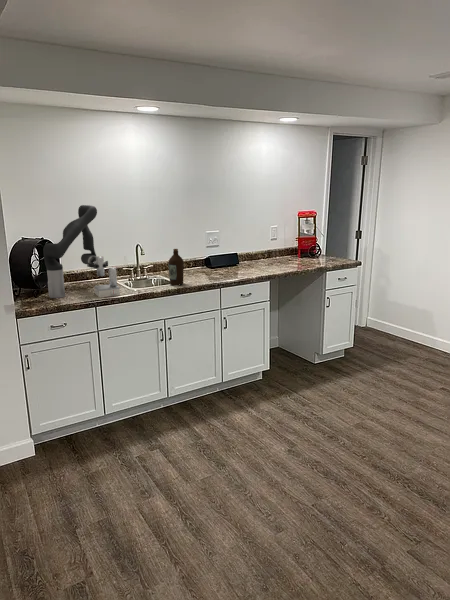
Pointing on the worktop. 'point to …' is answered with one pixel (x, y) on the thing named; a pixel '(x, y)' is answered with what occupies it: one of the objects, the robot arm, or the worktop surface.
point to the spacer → (100, 266)
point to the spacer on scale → (112, 277)
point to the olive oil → (176, 268)
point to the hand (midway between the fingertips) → (101, 266)
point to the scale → (106, 290)
